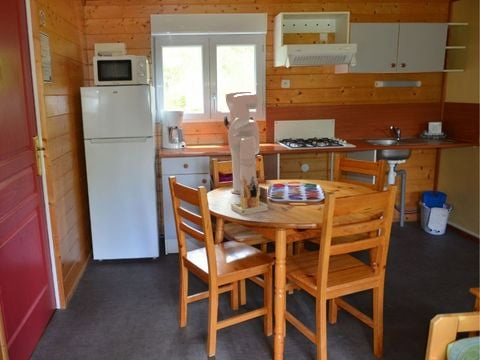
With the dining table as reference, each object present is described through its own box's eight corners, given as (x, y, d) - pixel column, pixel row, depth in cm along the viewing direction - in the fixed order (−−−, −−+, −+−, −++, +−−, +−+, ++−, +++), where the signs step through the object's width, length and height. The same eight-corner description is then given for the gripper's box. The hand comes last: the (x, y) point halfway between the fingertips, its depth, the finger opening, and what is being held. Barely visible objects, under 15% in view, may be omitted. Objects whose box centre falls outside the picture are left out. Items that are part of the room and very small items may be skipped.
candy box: (255, 205, 227) (254, 176, 224) (259, 207, 223) (258, 178, 220) (240, 208, 223) (239, 179, 220) (244, 209, 219) (243, 180, 216)
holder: (241, 202, 238) (240, 189, 236) (260, 198, 243) (260, 186, 242) (247, 205, 231) (246, 192, 230) (267, 201, 237) (267, 189, 235)
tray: (231, 209, 226) (231, 204, 225) (256, 204, 232) (256, 199, 232) (242, 215, 214) (242, 210, 214) (268, 210, 221) (268, 205, 220)
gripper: (233, 160, 224) (235, 192, 227) (249, 165, 209) (250, 199, 212) (246, 159, 227) (247, 190, 231) (262, 163, 212) (264, 197, 216)
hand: (249, 195), depth 222 cm, fingers open, 9 cm apart
